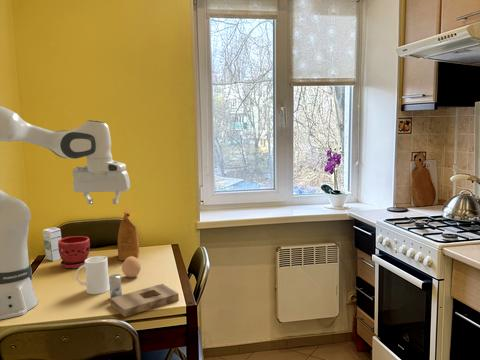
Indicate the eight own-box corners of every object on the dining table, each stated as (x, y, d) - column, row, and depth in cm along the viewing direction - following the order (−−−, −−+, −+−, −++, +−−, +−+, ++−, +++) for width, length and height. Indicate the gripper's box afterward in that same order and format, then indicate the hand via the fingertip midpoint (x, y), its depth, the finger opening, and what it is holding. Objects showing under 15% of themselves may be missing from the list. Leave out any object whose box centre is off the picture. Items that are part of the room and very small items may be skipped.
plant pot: (73, 272, 184) (71, 244, 183) (53, 267, 191) (51, 241, 189) (97, 262, 196) (95, 237, 194) (77, 258, 202) (75, 233, 200)
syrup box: (63, 258, 204) (61, 228, 202) (52, 261, 199) (49, 230, 197) (56, 256, 207) (53, 226, 205) (45, 259, 202) (42, 229, 200)
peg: (113, 300, 153) (111, 279, 152) (108, 297, 157) (107, 276, 155) (123, 297, 156) (122, 276, 155) (119, 294, 159) (118, 273, 158)
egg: (136, 280, 172) (135, 259, 171) (119, 279, 174) (118, 259, 173) (144, 274, 179) (143, 254, 178) (127, 273, 181) (126, 253, 180)
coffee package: (140, 252, 210) (138, 207, 207) (139, 260, 198) (136, 212, 195) (119, 253, 208) (116, 208, 205) (116, 261, 196) (113, 214, 193)
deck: (124, 317, 140) (124, 309, 140) (110, 305, 150) (110, 298, 149) (178, 300, 152) (178, 293, 152) (162, 290, 162) (162, 283, 161)
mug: (77, 297, 157) (75, 265, 155) (76, 289, 165) (74, 259, 163) (111, 291, 162) (109, 260, 160) (108, 284, 169) (106, 254, 168)
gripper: (68, 167, 154) (71, 206, 155) (124, 166, 152) (127, 205, 154) (76, 165, 160) (79, 202, 162) (130, 164, 158) (132, 201, 160)
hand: (103, 203), depth 158 cm, fingers open, 8 cm apart
